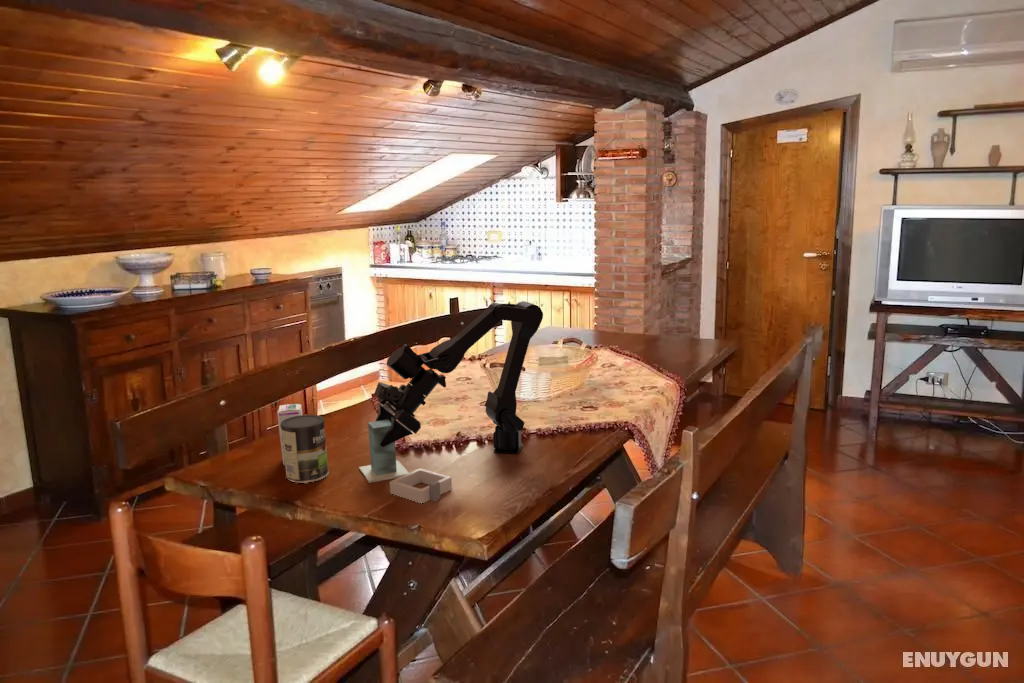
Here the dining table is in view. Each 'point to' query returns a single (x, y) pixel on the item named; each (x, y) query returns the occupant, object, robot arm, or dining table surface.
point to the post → (381, 448)
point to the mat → (373, 477)
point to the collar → (431, 492)
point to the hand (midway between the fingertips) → (376, 440)
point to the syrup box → (286, 413)
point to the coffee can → (304, 448)
